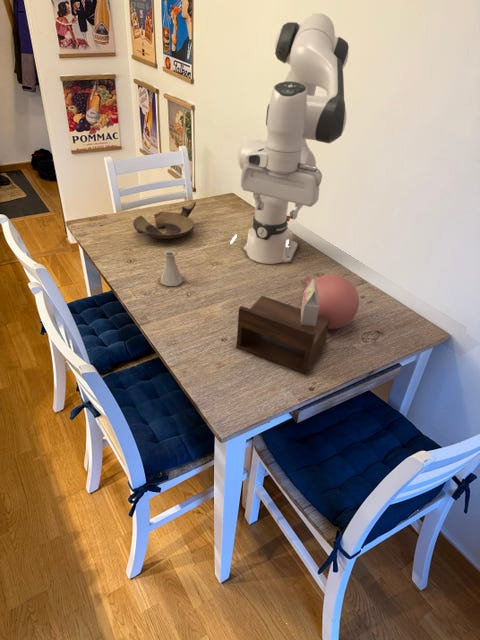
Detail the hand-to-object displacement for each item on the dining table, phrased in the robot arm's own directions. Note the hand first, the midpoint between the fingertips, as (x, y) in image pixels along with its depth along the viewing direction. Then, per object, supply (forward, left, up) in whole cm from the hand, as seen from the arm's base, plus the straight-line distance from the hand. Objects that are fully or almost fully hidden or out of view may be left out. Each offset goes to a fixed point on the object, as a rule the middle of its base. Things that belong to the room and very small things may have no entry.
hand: (276, 213), depth 113 cm
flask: (+2, -33, -31) cm, 45 cm away
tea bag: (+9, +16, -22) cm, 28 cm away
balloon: (-5, +16, -31) cm, 35 cm away
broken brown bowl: (-27, -54, -31) cm, 68 cm away
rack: (+13, +11, -31) cm, 35 cm away
